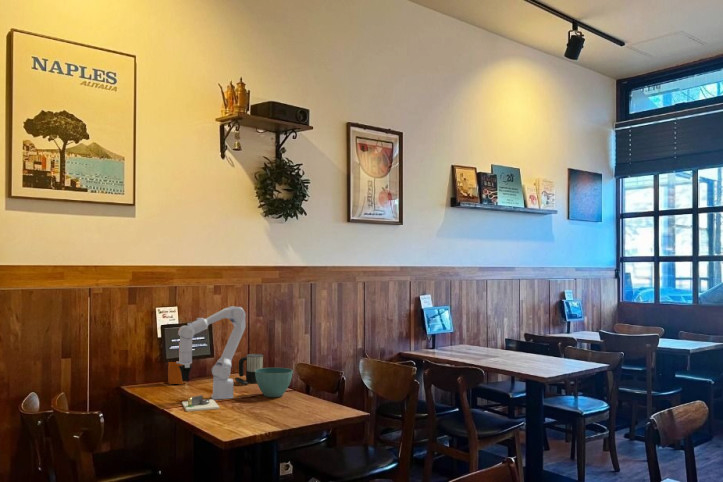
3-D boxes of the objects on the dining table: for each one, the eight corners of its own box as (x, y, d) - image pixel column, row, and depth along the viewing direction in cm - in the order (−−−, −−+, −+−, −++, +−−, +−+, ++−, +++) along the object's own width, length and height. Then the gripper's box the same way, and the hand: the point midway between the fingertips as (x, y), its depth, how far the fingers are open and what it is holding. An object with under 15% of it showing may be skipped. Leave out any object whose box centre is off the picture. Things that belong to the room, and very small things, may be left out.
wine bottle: (190, 383, 324) (192, 327, 325) (176, 386, 315) (178, 328, 317) (178, 381, 329) (179, 326, 330) (163, 384, 320) (165, 327, 322)
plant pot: (281, 390, 305) (282, 366, 306) (298, 396, 290) (299, 371, 291) (248, 394, 295) (249, 369, 296) (264, 401, 280) (265, 374, 281)
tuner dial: (204, 401, 273) (204, 393, 274) (211, 402, 270) (211, 395, 270) (184, 405, 265) (184, 397, 265) (191, 406, 262) (192, 398, 262)
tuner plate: (213, 401, 279) (213, 399, 279) (219, 408, 264) (219, 406, 264) (181, 403, 274) (181, 401, 274) (186, 411, 258) (186, 409, 258)
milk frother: (263, 380, 333) (264, 353, 334) (260, 385, 318) (261, 357, 318) (238, 380, 333) (238, 353, 333) (233, 386, 317) (234, 357, 318)
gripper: (175, 350, 283) (174, 379, 283) (178, 354, 270) (177, 384, 269) (190, 349, 286) (189, 378, 285) (194, 353, 273) (193, 383, 272)
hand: (184, 381), depth 278 cm, fingers closed
